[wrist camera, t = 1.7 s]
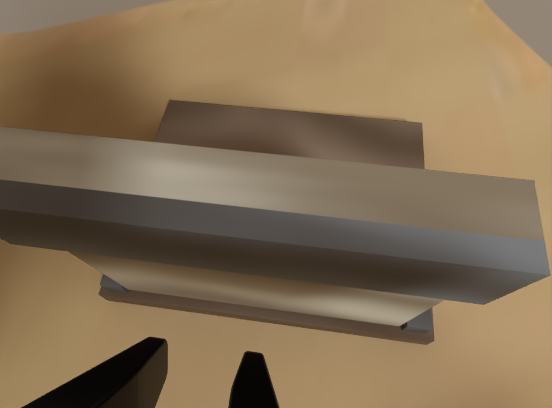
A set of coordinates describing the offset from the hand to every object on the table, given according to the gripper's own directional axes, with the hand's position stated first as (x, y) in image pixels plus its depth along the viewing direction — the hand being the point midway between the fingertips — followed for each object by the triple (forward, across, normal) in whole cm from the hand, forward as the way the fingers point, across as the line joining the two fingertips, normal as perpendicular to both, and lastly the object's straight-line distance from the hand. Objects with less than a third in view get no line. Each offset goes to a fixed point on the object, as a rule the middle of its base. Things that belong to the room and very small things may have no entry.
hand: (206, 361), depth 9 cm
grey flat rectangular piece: (+7, 0, -1) cm, 7 cm away
